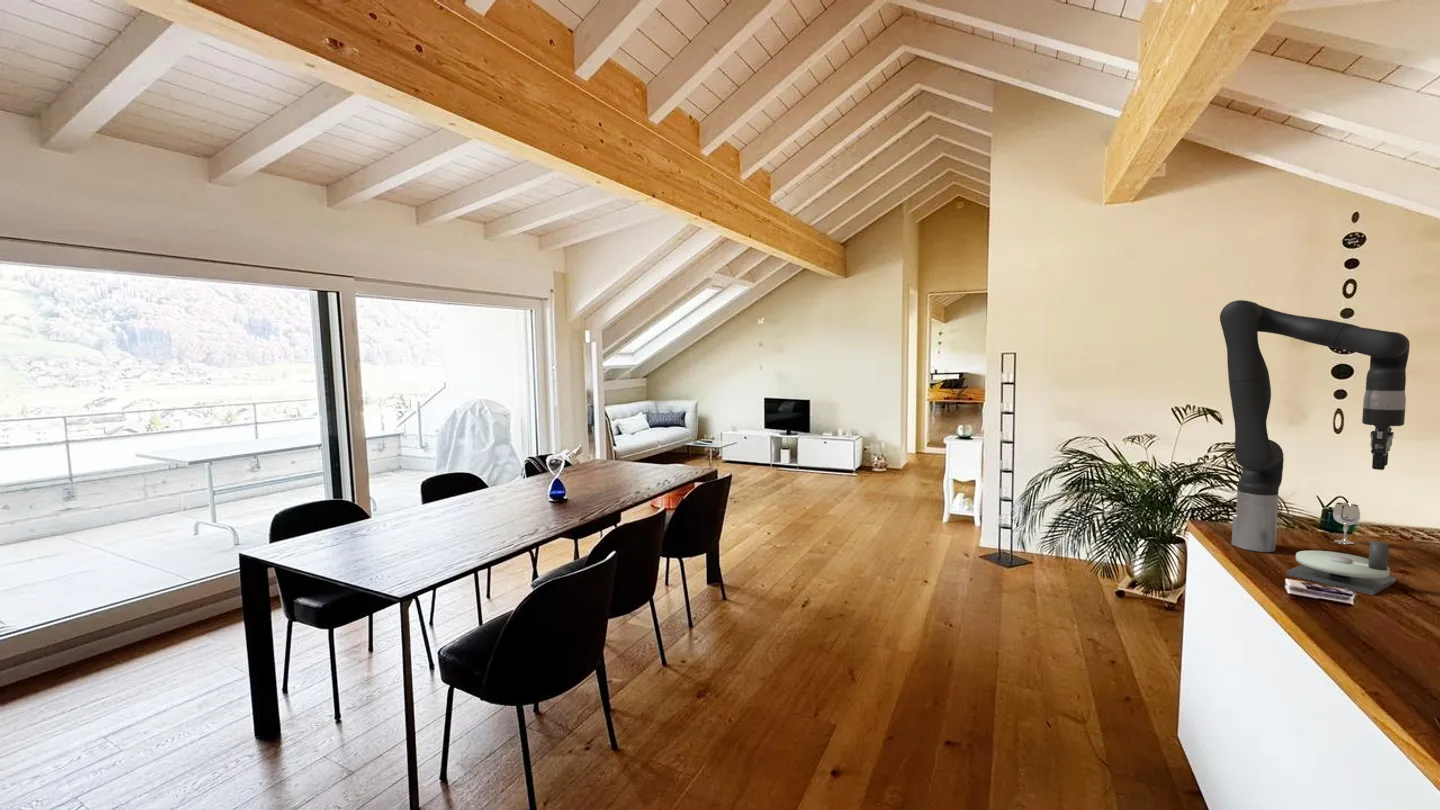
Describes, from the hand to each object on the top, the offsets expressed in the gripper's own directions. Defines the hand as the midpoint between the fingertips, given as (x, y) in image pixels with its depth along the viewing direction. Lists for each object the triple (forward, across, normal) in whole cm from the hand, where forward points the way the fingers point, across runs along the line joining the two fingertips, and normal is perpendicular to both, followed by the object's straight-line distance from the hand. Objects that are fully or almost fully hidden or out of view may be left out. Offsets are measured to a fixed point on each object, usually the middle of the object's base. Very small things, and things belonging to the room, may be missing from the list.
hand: (1379, 467), depth 159 cm
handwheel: (+25, -15, +5) cm, 30 cm away
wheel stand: (+28, -15, +5) cm, 32 cm away
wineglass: (+28, +26, +8) cm, 39 cm away
